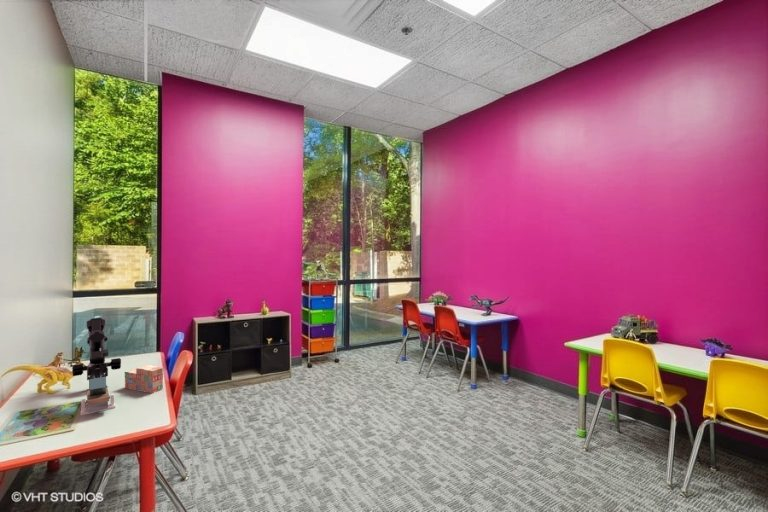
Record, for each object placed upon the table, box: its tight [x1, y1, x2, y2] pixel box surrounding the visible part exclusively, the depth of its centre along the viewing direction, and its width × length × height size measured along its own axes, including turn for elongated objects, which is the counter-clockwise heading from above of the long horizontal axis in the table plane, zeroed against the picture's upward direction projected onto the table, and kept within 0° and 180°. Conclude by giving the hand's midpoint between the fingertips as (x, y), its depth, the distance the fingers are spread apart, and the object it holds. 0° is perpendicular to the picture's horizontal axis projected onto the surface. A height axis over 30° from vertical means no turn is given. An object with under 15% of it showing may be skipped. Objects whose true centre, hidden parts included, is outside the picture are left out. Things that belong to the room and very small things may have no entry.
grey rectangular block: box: [90, 376, 107, 396], centre depth 175 cm, size 5×6×9 cm
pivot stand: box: [80, 393, 116, 416], centre depth 176 cm, size 5×13×6 cm, turn 129°
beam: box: [85, 386, 111, 412], centre depth 179 cm, size 25×9×5 cm, turn 39°
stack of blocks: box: [124, 364, 164, 394], centre depth 202 cm, size 21×6×12 cm, turn 70°
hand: (97, 381), depth 176 cm, fingers closed, pressing on grey rectangular block
